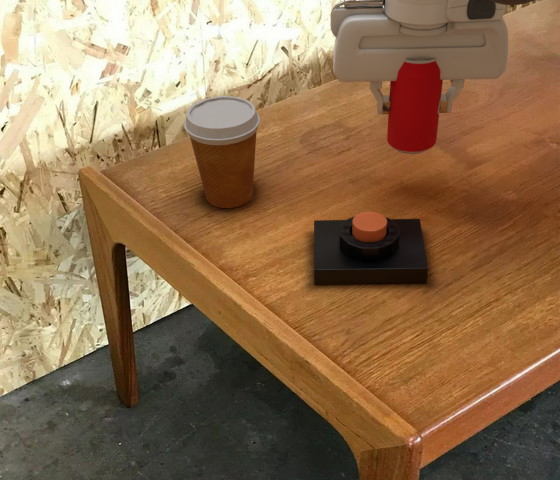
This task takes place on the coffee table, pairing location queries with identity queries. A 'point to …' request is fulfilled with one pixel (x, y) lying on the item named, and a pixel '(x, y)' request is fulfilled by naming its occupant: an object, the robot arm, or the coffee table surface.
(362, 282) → the housing
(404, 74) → the beverage can
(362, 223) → the button
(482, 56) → the robot arm
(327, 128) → the coffee table surface
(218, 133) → the disposable coffee cup
